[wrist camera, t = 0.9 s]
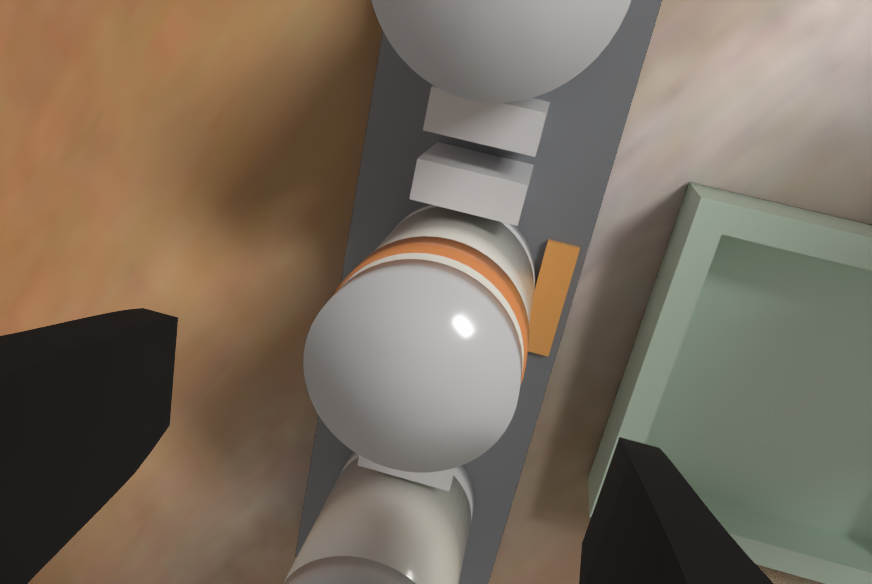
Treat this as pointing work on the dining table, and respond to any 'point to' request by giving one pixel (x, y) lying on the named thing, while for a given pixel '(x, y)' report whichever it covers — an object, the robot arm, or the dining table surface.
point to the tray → (761, 380)
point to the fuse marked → (426, 342)
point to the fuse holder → (498, 200)
